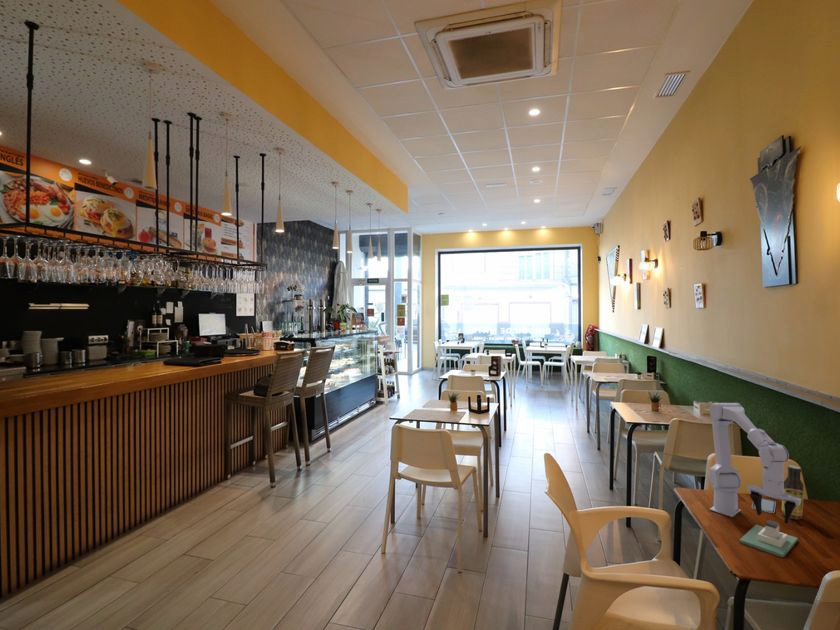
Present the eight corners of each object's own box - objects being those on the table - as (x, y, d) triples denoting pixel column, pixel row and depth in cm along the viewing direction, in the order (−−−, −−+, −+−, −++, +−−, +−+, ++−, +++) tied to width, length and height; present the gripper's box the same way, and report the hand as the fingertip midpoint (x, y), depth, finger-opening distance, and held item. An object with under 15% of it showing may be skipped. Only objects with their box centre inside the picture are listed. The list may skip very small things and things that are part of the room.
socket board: (755, 527, 163) (756, 519, 163) (797, 540, 153) (797, 532, 153) (739, 542, 152) (739, 533, 152) (783, 557, 142) (783, 548, 142)
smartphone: (776, 501, 185) (774, 512, 174) (776, 503, 185) (774, 515, 174) (754, 496, 190) (751, 506, 179) (754, 498, 190) (751, 509, 179)
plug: (768, 536, 154) (768, 519, 154) (779, 540, 152) (779, 523, 152) (764, 540, 152) (765, 523, 152) (775, 543, 149) (775, 526, 149)
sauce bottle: (783, 518, 170) (784, 467, 170) (779, 511, 176) (780, 462, 176) (805, 522, 167) (806, 470, 167) (800, 515, 173) (801, 465, 173)
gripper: (744, 475, 155) (744, 513, 155) (797, 489, 144) (796, 530, 144) (751, 471, 160) (750, 508, 160) (802, 484, 148) (802, 523, 148)
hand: (772, 518), depth 152 cm, fingers open, 7 cm apart
